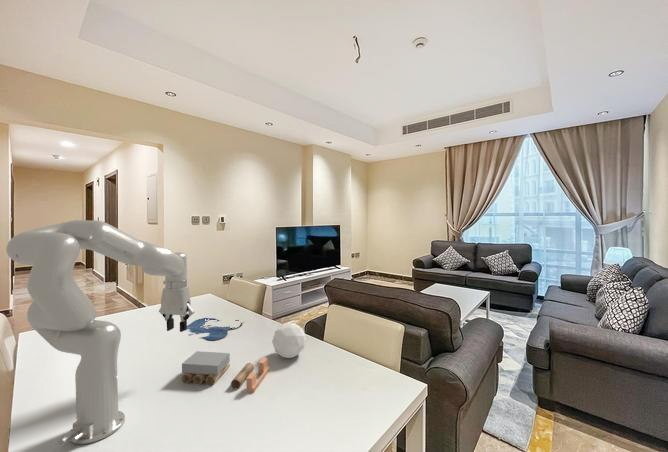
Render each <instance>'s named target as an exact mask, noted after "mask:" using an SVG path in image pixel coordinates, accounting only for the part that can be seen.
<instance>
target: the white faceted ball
mask: <svg viewBox="0 0 668 452" xmlns="http://www.w3.org/2000/svg"><path fill="white" fill-rule="evenodd" d="M306 340H307V338H306V335H305V331H304V329H303V328H302V327H301V326H299V325H298V324H296V323H289V322H287V323H283V324H282V325H281V326H279V328H277V329H276V330H275V331H274V335H273V339H272V341H271V342H272V345H273V349H274V352H276V353H277V354H278V355H280V356H281V357H282V358H284V359H285V358H286V359H292V358H294V357H296V356H298V355H299V354H300V353H301V352H302V351H304V348H305V345H306Z"/></svg>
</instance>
